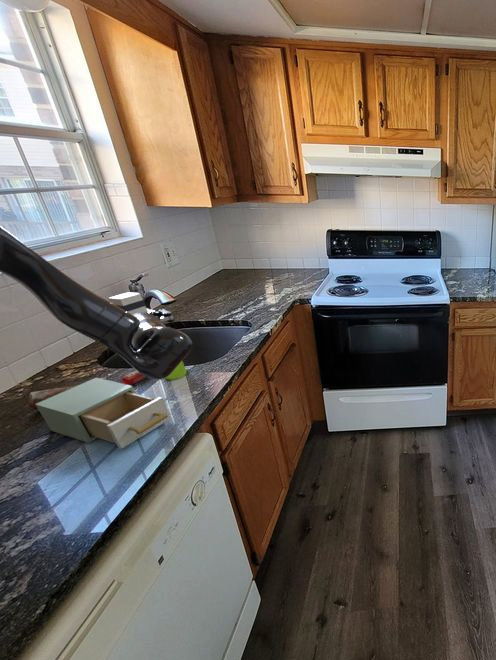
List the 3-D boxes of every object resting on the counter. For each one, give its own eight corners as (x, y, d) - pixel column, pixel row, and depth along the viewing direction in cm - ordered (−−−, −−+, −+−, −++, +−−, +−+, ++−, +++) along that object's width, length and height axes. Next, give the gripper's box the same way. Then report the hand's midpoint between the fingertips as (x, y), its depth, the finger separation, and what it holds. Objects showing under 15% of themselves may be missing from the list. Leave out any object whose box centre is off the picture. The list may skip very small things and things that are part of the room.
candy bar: (129, 387, 115) (125, 379, 114) (120, 386, 116) (116, 378, 115) (176, 363, 129) (173, 356, 128) (168, 362, 130) (165, 355, 129)
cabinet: (144, 411, 103) (132, 386, 100) (88, 443, 92) (72, 415, 88) (109, 402, 108) (96, 377, 105) (51, 430, 97) (34, 404, 93)
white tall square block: (147, 361, 95) (120, 299, 87) (135, 358, 96) (107, 297, 89) (165, 353, 99) (141, 293, 92) (153, 351, 100) (128, 292, 93)
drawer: (182, 421, 97) (173, 400, 95) (133, 452, 87) (121, 430, 84) (135, 408, 103) (126, 388, 100) (84, 436, 93) (71, 415, 90)
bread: (41, 404, 108) (31, 389, 106) (122, 387, 116) (114, 372, 113) (31, 416, 103) (21, 400, 100) (116, 397, 111) (108, 381, 108)
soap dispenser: (165, 383, 117) (141, 326, 109) (165, 374, 122) (142, 319, 114) (187, 377, 120) (165, 321, 112) (186, 368, 125) (165, 315, 117)
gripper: (176, 308, 87) (160, 294, 97) (97, 327, 78) (88, 310, 88) (187, 336, 90) (170, 320, 101) (112, 358, 81) (102, 338, 91)
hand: (132, 315), depth 94 cm, fingers closed on white tall square block, 6 cm apart
